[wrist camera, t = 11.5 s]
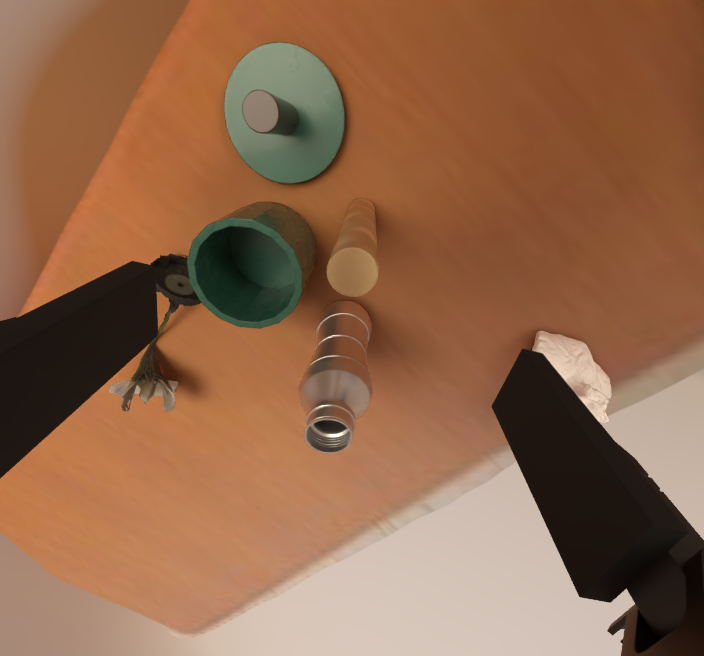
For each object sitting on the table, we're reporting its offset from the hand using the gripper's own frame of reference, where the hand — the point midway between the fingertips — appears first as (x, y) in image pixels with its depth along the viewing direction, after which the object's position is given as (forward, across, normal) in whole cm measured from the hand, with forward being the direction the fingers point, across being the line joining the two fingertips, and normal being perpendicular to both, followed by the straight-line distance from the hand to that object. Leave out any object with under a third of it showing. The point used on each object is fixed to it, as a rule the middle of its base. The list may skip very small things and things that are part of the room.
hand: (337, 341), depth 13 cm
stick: (+28, 0, 0) cm, 28 cm away
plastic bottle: (+29, +1, -13) cm, 31 cm away
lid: (+28, -9, +7) cm, 30 cm away
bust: (+28, +28, -12) cm, 42 cm away
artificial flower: (+29, -20, -21) cm, 41 cm away
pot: (+28, -9, -6) cm, 30 cm away
